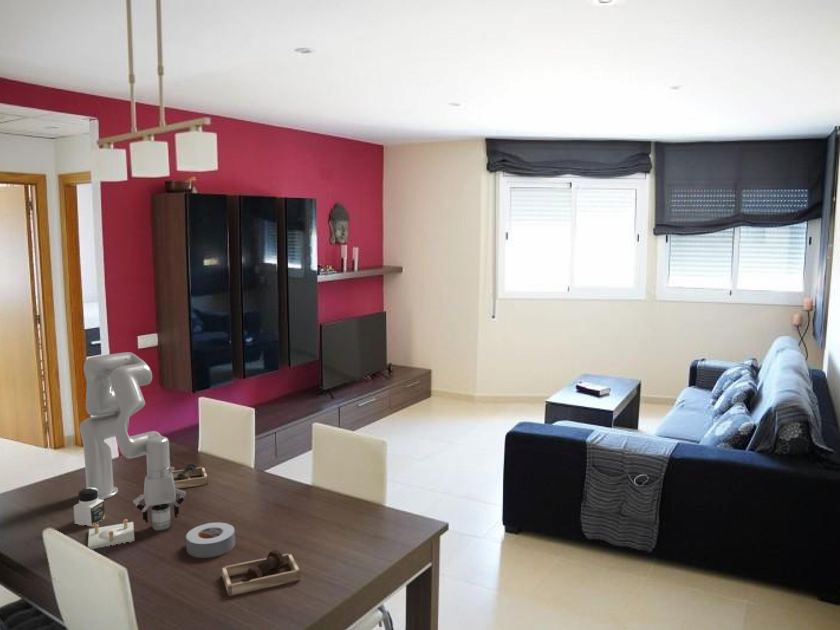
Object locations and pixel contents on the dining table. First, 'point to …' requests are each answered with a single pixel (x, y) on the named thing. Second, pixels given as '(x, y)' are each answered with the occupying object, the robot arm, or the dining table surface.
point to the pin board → (111, 535)
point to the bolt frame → (258, 582)
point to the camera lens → (160, 516)
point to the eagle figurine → (186, 472)
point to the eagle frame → (193, 481)
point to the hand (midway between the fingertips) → (161, 518)
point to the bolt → (264, 566)
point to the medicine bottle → (89, 508)
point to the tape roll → (210, 540)
